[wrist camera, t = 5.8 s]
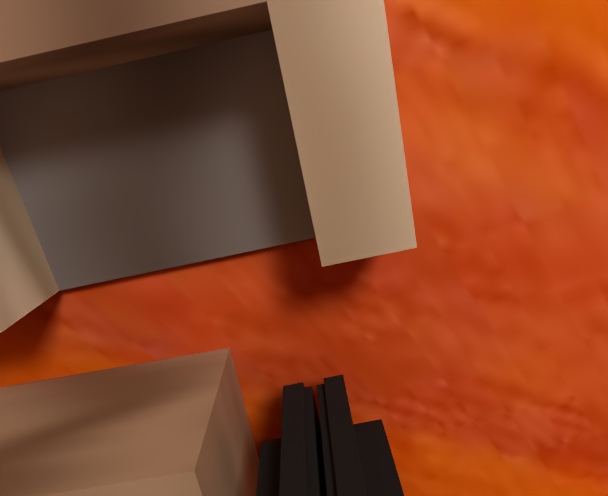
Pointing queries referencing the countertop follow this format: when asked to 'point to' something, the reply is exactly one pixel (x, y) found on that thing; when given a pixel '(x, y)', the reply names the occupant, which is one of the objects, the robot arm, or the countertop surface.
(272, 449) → the robot arm
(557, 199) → the countertop surface
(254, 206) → the tray
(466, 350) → the countertop surface
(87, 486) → the block
